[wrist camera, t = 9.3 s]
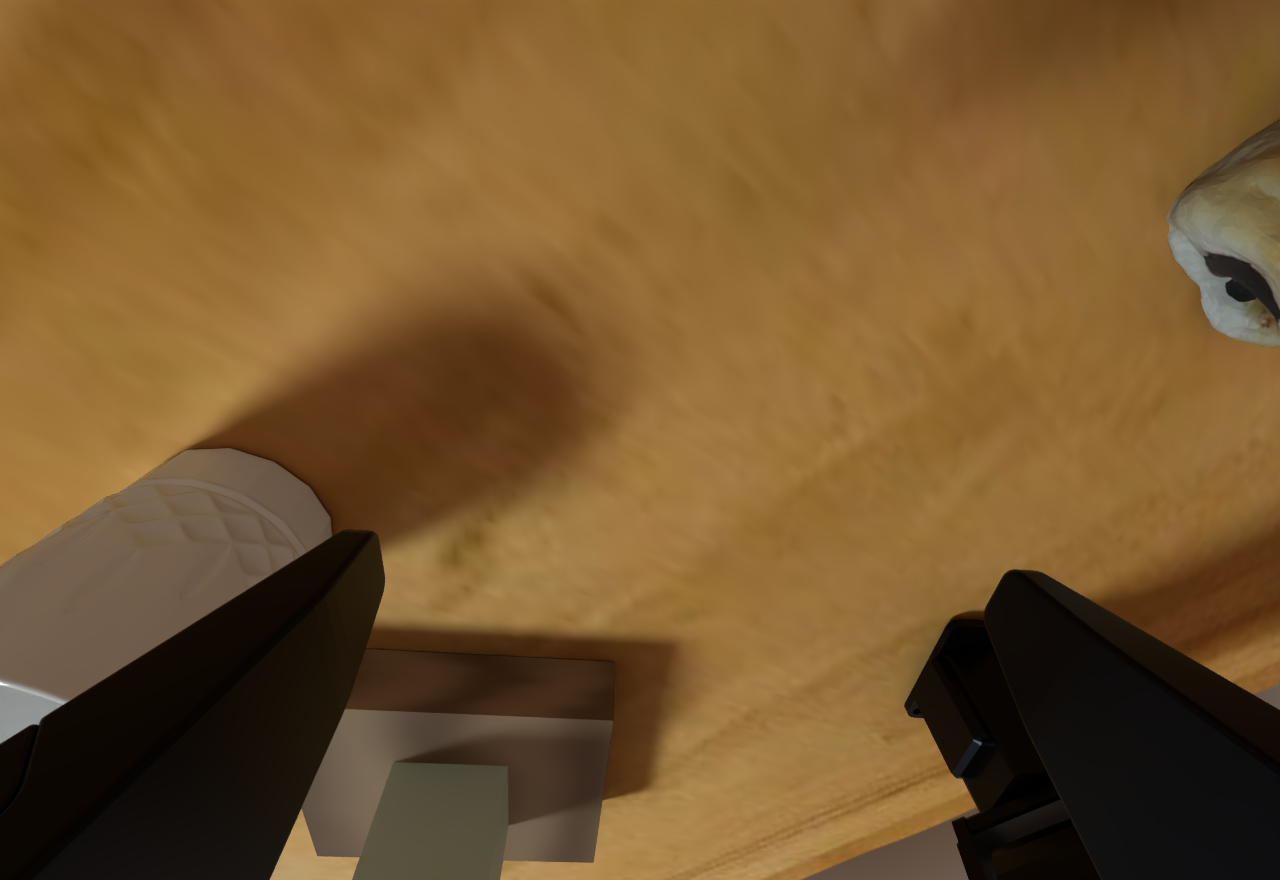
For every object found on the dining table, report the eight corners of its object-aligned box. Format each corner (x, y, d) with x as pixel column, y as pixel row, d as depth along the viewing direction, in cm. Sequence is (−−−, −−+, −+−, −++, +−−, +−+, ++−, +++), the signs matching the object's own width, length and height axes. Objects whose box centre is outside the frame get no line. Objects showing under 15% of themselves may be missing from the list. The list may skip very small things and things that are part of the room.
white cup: (368, 474, 21) (196, 721, 13) (333, 614, 25) (180, 882, 16) (132, 399, 20) (-250, 628, 11) (131, 561, 23) (-160, 832, 15)
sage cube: (507, 766, 26) (485, 899, 21) (508, 825, 28) (488, 955, 24) (393, 761, 25) (346, 896, 21) (404, 822, 28) (363, 954, 23)
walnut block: (614, 661, 27) (613, 720, 24) (595, 802, 33) (593, 862, 30) (303, 645, 26) (267, 705, 23) (342, 794, 32) (317, 856, 29)
